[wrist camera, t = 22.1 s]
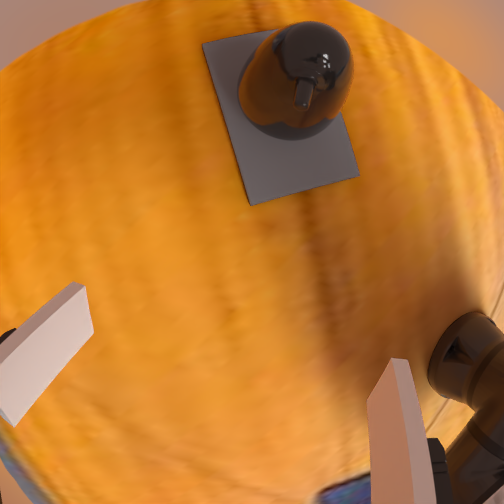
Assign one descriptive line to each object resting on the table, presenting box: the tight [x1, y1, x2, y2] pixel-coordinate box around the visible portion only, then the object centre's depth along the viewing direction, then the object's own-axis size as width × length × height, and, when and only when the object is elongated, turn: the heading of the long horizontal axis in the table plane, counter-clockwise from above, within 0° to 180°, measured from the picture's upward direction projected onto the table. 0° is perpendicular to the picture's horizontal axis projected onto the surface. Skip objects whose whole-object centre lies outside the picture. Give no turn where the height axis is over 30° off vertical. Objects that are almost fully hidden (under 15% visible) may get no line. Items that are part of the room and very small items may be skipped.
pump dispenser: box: [237, 21, 354, 141], centre depth 23 cm, size 10×10×15 cm
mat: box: [202, 29, 360, 206], centre depth 31 cm, size 13×20×1 cm, turn 16°
